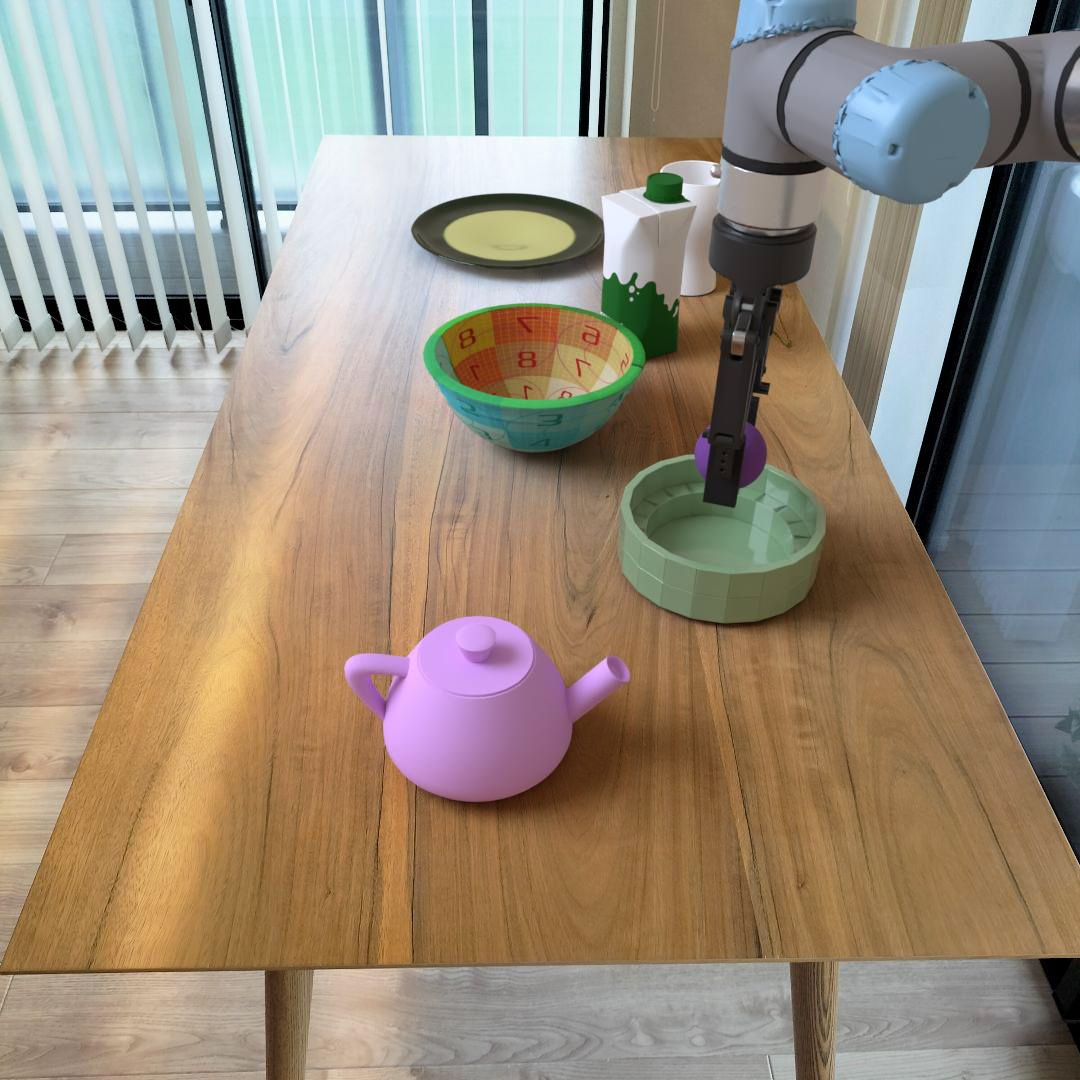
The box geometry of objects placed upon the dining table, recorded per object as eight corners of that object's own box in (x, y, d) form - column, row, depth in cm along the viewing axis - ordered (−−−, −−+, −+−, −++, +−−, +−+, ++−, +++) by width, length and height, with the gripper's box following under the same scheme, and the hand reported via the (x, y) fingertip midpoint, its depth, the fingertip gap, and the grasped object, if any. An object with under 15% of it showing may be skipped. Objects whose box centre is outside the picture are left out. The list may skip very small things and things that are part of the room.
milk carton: (688, 352, 130) (706, 187, 118) (626, 369, 126) (638, 201, 114) (646, 323, 136) (659, 163, 123) (585, 339, 132) (593, 176, 120)
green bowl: (853, 569, 97) (867, 515, 94) (726, 658, 88) (735, 602, 84) (705, 484, 107) (712, 433, 104) (577, 556, 98) (580, 502, 94)
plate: (645, 259, 152) (646, 242, 150) (468, 299, 140) (467, 281, 139) (544, 196, 171) (544, 180, 169) (381, 227, 159) (380, 211, 158)
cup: (732, 301, 141) (747, 187, 132) (651, 301, 141) (660, 186, 132) (720, 268, 150) (733, 159, 140) (643, 267, 149) (652, 158, 140)
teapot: (633, 813, 75) (644, 707, 69) (344, 818, 74) (328, 711, 68) (615, 673, 86) (624, 570, 80) (363, 676, 85) (351, 572, 79)
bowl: (387, 460, 110) (380, 373, 104) (488, 366, 126) (486, 286, 120) (588, 518, 103) (593, 428, 97) (668, 410, 119) (676, 327, 113)
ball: (776, 485, 92) (787, 425, 89) (730, 512, 89) (739, 451, 85) (722, 456, 96) (730, 397, 92) (676, 481, 92) (683, 421, 89)
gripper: (736, 169, 86) (704, 419, 100) (687, 259, 72) (658, 535, 86) (831, 181, 84) (785, 433, 98) (801, 275, 70) (752, 555, 84)
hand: (726, 480), depth 92 cm, fingers closed on ball, 6 cm apart
